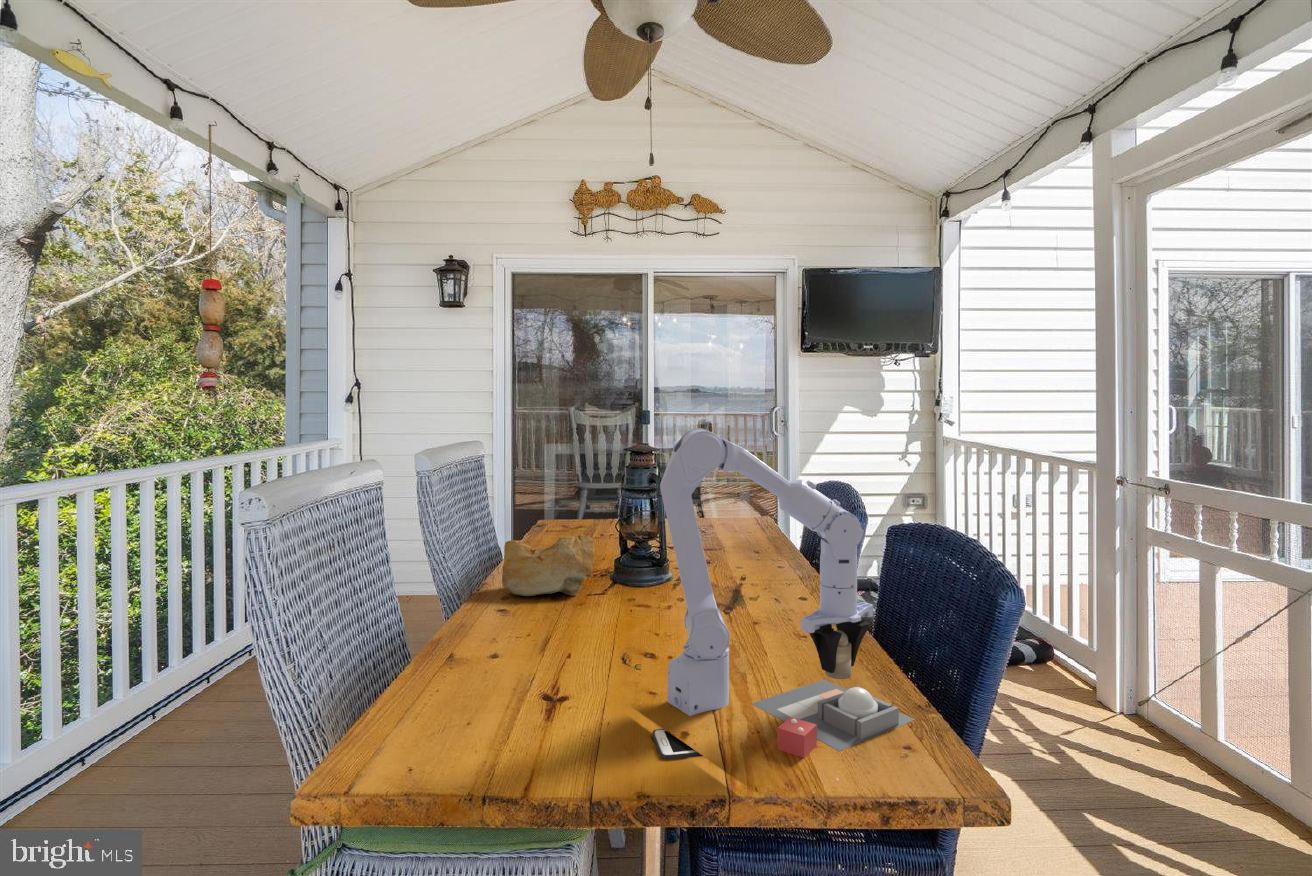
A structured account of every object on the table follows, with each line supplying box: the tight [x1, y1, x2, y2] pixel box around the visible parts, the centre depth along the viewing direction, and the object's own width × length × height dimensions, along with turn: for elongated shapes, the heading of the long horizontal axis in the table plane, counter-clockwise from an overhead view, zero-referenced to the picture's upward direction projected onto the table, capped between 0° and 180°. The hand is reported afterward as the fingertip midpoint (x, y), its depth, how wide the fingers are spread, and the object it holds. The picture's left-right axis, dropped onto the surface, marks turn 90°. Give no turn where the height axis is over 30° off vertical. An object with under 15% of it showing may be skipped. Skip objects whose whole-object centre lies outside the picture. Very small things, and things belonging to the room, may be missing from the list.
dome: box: [838, 686, 878, 720], centre depth 104 cm, size 6×6×5 cm
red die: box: [776, 717, 818, 759], centre depth 97 cm, size 4×4×4 cm
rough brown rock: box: [501, 534, 595, 597], centre depth 179 cm, size 23×17×15 cm
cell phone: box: [651, 728, 704, 761], centre depth 101 cm, size 8×15×1 cm, turn 101°
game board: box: [751, 679, 916, 752], centre depth 108 cm, size 16×18×4 cm
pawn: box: [824, 629, 852, 680], centre depth 112 cm, size 4×4×7 cm
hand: (837, 667), depth 113 cm, fingers closed on pawn, 4 cm apart
